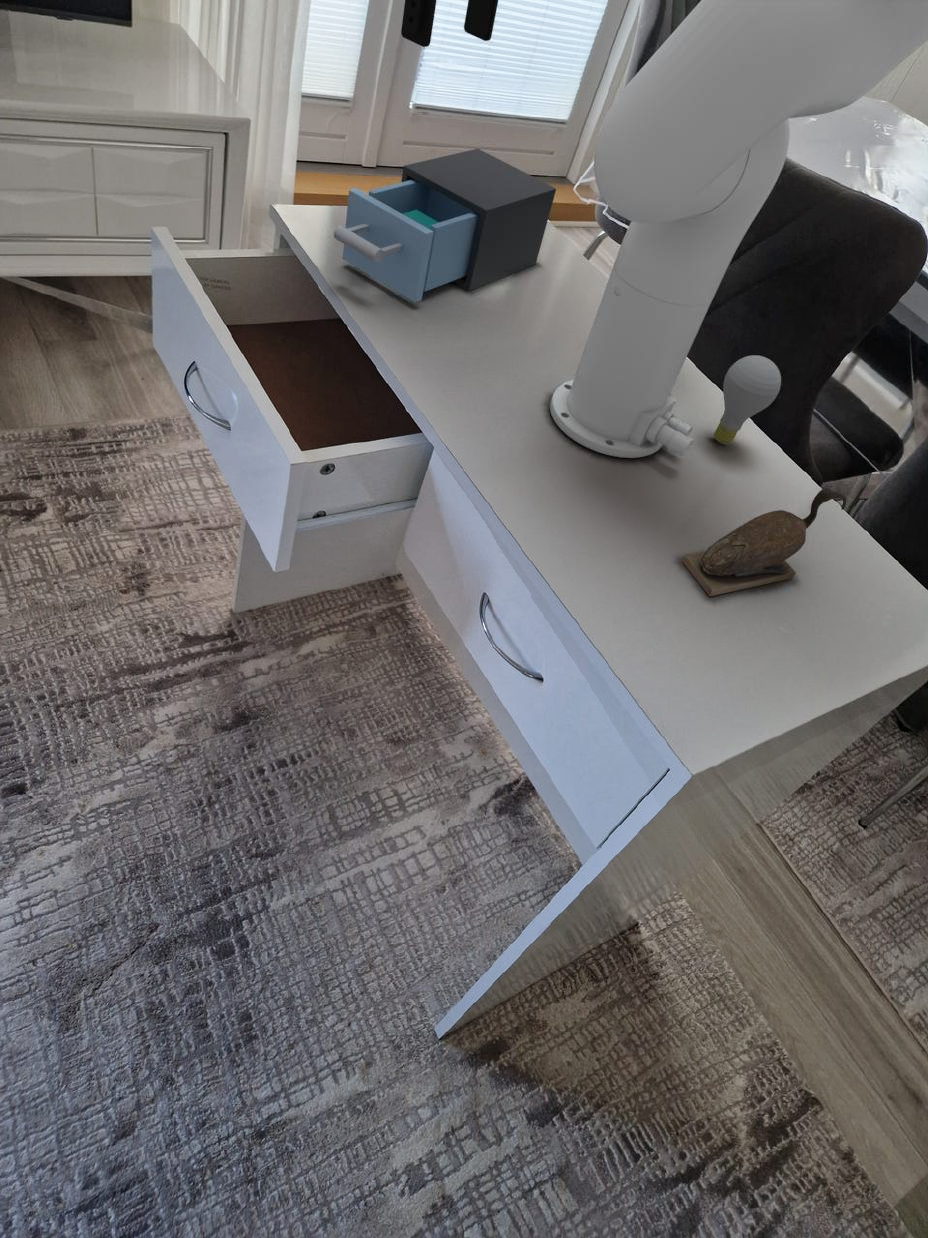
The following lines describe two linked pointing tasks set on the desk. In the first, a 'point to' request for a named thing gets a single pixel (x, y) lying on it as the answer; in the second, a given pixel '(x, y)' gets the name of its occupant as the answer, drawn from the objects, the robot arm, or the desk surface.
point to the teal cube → (420, 218)
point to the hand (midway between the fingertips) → (447, 38)
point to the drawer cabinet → (491, 210)
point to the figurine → (755, 550)
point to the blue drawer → (408, 237)
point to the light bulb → (746, 393)
